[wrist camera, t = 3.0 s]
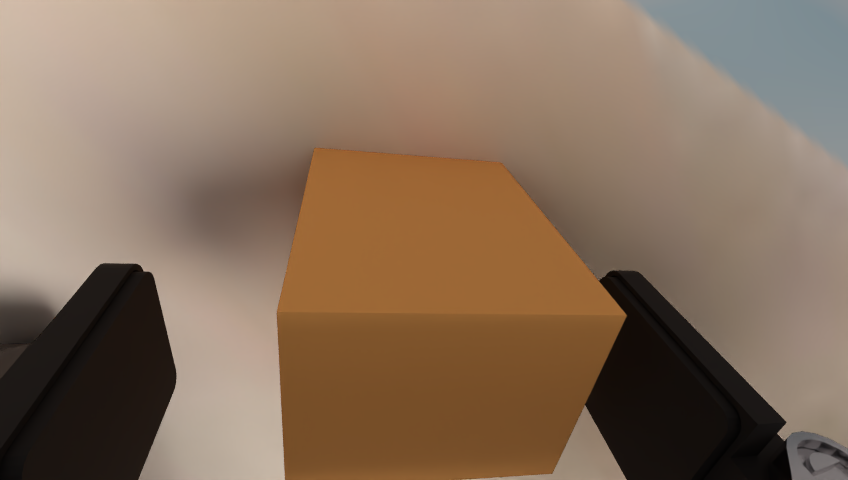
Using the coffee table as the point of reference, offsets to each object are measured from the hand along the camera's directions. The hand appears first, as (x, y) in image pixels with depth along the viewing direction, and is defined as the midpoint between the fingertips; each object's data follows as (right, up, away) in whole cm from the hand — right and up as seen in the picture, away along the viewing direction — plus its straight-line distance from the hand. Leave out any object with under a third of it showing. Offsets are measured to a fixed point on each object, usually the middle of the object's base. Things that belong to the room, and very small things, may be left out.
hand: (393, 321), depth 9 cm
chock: (0, +1, +4) cm, 4 cm away
